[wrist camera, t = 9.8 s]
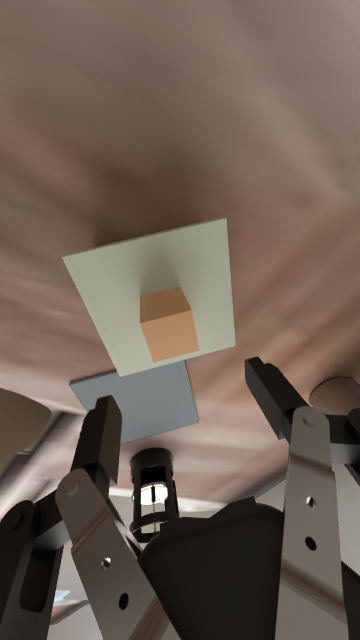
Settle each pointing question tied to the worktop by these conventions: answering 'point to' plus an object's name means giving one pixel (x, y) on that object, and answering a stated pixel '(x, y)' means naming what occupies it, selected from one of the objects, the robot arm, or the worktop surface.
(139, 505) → the french press
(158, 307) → the lid
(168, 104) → the worktop surface
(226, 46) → the worktop surface
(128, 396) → the mat
